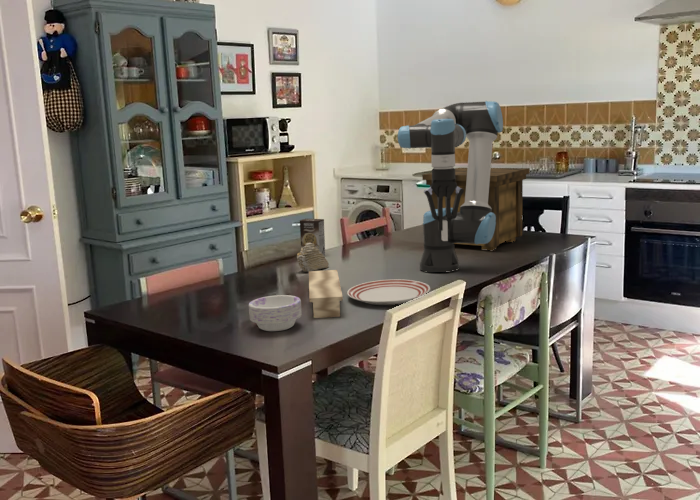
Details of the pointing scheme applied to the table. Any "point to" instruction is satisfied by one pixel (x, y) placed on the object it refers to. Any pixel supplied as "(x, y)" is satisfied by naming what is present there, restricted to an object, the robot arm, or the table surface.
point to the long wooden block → (325, 293)
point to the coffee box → (313, 233)
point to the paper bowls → (275, 312)
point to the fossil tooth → (311, 258)
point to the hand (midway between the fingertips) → (444, 240)
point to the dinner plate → (388, 291)
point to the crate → (495, 201)
